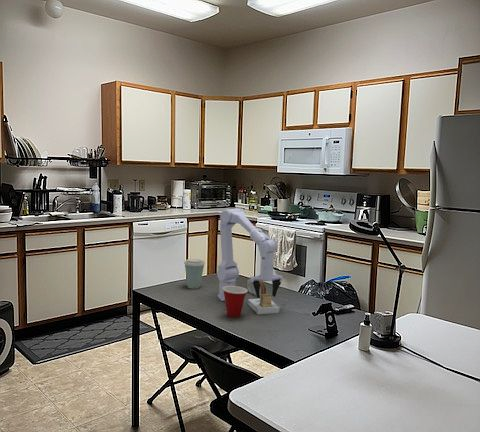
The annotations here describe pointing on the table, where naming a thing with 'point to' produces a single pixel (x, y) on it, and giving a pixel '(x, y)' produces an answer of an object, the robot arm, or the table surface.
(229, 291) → the plastic cup
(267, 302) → the square peg
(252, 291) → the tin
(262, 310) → the socket block
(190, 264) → the disposable coffee cup
